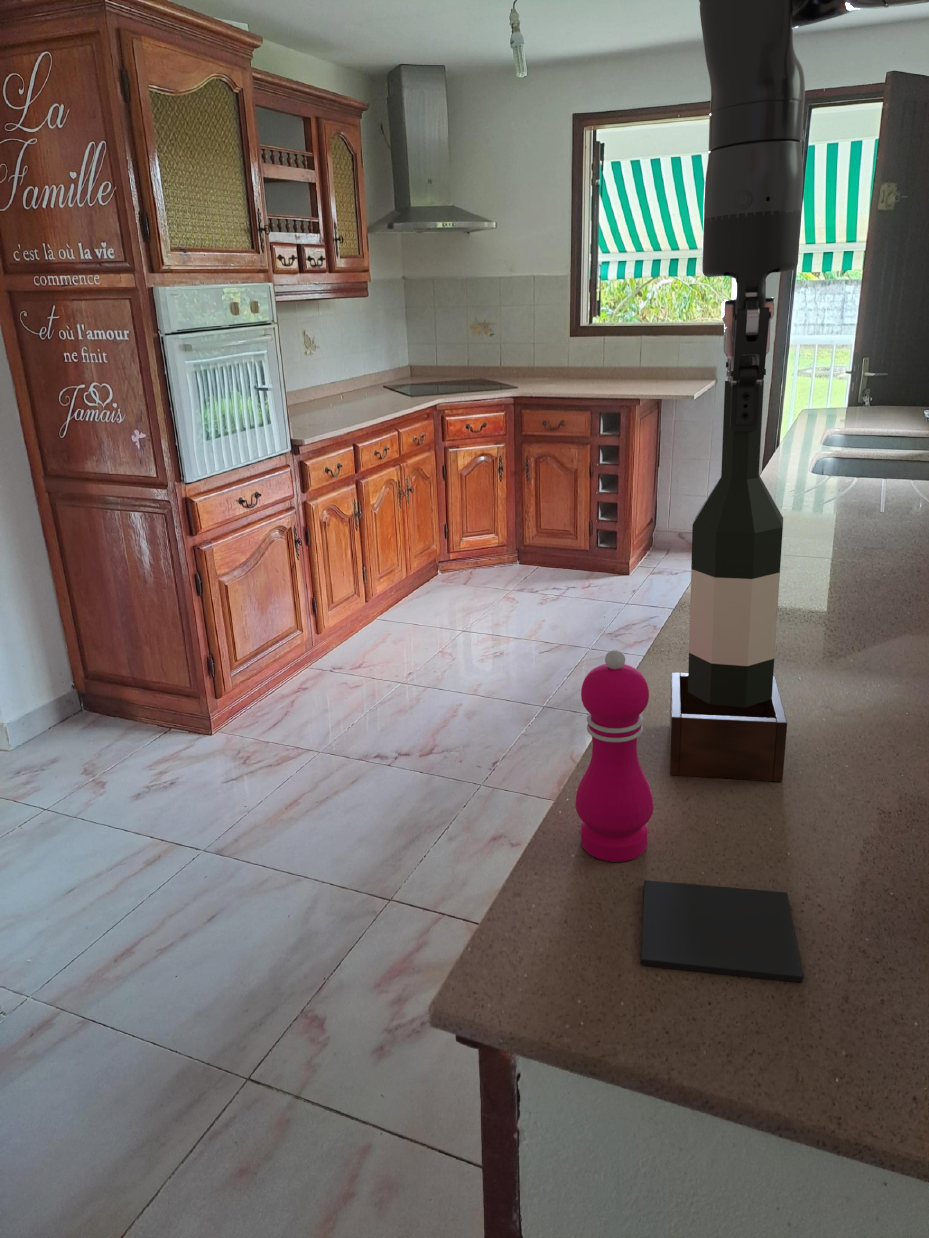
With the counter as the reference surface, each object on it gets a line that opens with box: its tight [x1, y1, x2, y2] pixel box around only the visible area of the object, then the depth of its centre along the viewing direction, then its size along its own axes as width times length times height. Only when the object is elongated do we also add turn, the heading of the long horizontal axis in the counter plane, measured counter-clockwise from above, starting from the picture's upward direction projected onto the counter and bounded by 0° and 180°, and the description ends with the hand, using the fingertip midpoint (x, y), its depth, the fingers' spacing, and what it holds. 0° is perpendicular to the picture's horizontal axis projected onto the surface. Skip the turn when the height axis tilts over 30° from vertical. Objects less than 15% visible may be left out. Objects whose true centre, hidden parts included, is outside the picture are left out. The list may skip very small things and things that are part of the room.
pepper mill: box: [575, 649, 654, 863], centre depth 81 cm, size 7×7×20 cm
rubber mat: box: [640, 879, 804, 983], centre depth 72 cm, size 12×10×1 cm
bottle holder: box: [669, 672, 788, 783], centre depth 98 cm, size 12×12×7 cm
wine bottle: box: [687, 372, 784, 707], centre depth 80 cm, size 8×8×30 cm
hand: (742, 426), depth 77 cm, fingers closed on wine bottle, 3 cm apart
